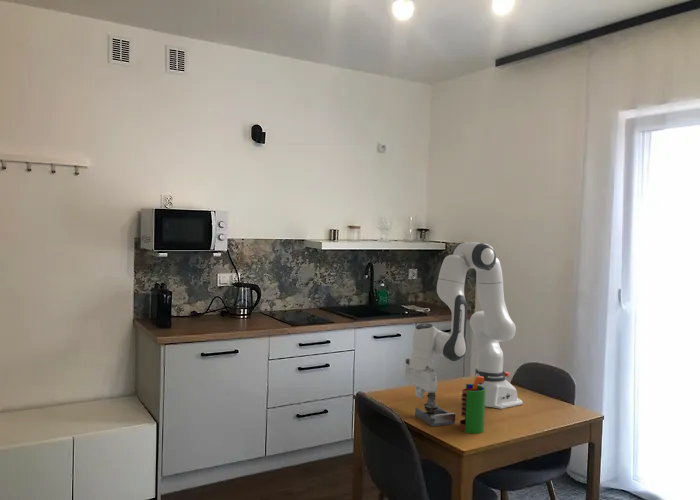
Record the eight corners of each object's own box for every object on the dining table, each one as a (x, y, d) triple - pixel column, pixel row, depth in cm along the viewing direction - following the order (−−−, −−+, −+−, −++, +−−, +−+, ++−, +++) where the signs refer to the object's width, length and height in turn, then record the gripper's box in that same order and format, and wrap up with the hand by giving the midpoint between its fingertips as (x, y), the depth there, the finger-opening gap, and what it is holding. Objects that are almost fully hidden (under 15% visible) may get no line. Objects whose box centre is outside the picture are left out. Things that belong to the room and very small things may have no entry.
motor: (456, 423, 222) (459, 372, 221) (478, 424, 223) (481, 372, 222) (463, 433, 212) (466, 379, 211) (487, 433, 213) (490, 380, 212)
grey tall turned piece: (440, 416, 226) (442, 385, 226) (426, 417, 225) (428, 386, 224) (434, 411, 232) (435, 382, 232) (420, 412, 230) (422, 382, 230)
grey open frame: (415, 415, 230) (415, 405, 229) (436, 413, 234) (437, 403, 233) (432, 426, 218) (432, 416, 217) (454, 423, 222) (455, 413, 222)
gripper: (442, 369, 227) (439, 404, 227) (416, 357, 245) (413, 389, 246) (428, 370, 224) (425, 405, 225) (403, 358, 243) (400, 390, 243)
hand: (419, 397), depth 235 cm, fingers closed
